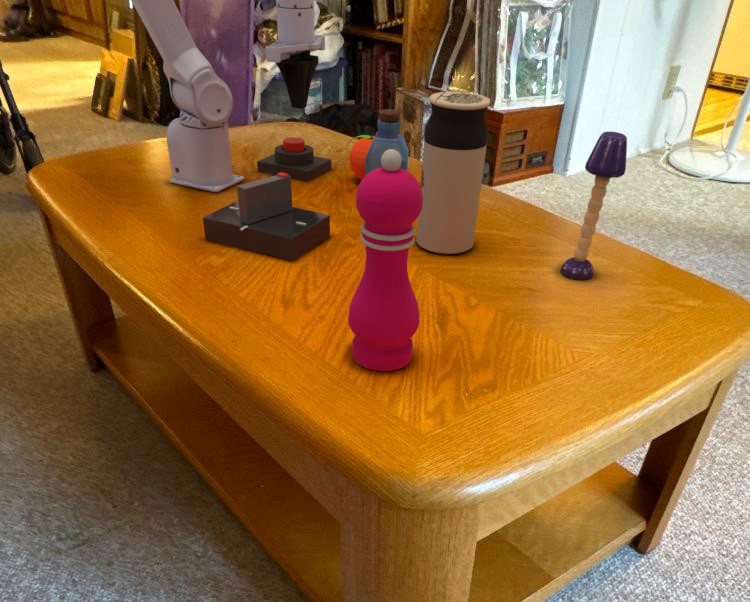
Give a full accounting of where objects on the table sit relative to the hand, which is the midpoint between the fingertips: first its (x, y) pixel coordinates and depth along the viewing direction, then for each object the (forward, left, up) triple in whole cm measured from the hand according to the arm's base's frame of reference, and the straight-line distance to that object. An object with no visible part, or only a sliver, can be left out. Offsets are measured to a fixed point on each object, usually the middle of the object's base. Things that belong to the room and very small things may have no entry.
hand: (299, 107), depth 112 cm
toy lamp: (+54, -19, -10) cm, 58 cm away
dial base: (+13, -30, -9) cm, 34 cm away
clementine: (+13, 0, -10) cm, 16 cm away
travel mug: (+35, -19, -10) cm, 41 cm away
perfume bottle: (+19, -5, -10) cm, 22 cm away
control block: (0, -2, -9) cm, 10 cm away
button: (0, -2, -6) cm, 7 cm away
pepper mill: (+41, -51, -10) cm, 66 cm away
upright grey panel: (+13, -30, -6) cm, 33 cm away
